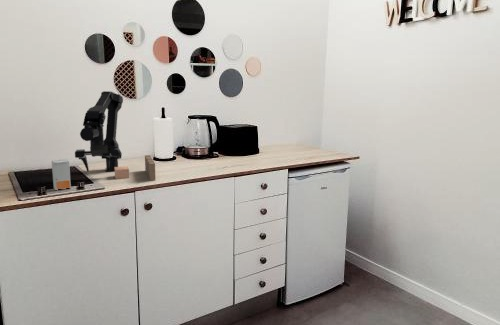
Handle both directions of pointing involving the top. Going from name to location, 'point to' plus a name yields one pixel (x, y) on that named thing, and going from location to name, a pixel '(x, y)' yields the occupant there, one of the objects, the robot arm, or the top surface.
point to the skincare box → (61, 174)
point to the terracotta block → (121, 172)
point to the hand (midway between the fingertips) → (98, 170)
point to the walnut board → (150, 167)
